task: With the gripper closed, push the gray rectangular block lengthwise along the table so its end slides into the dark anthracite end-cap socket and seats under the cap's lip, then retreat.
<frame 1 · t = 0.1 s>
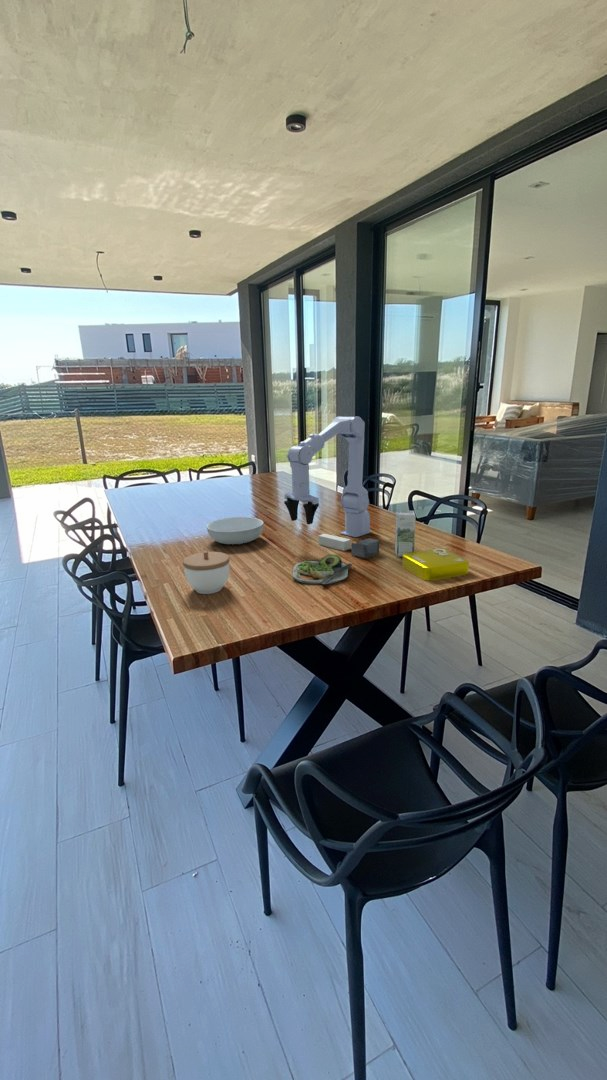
hand: (301, 522, 168), 10 cm above the table, fingers open, 7 cm apart
lidded sugar bowl: (209, 589, 138), on the table
end cap: (365, 554, 164), on the table
syrup box: (404, 555, 162), on the table
element tile: (434, 571, 148), on the table
serving bowl: (236, 541, 183), on the table
salad plate: (321, 575, 147), on the table
gray rectangular block: (334, 547, 174), on the table
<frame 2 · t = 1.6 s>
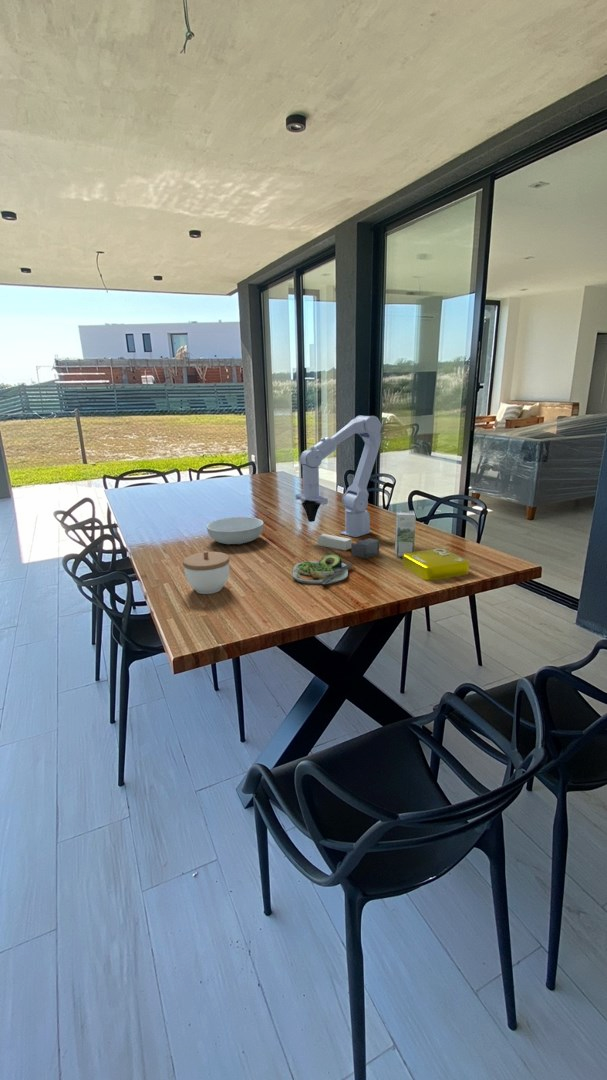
hand: (311, 521, 179), 7 cm above the table, fingers closed
nothing on the table moved.
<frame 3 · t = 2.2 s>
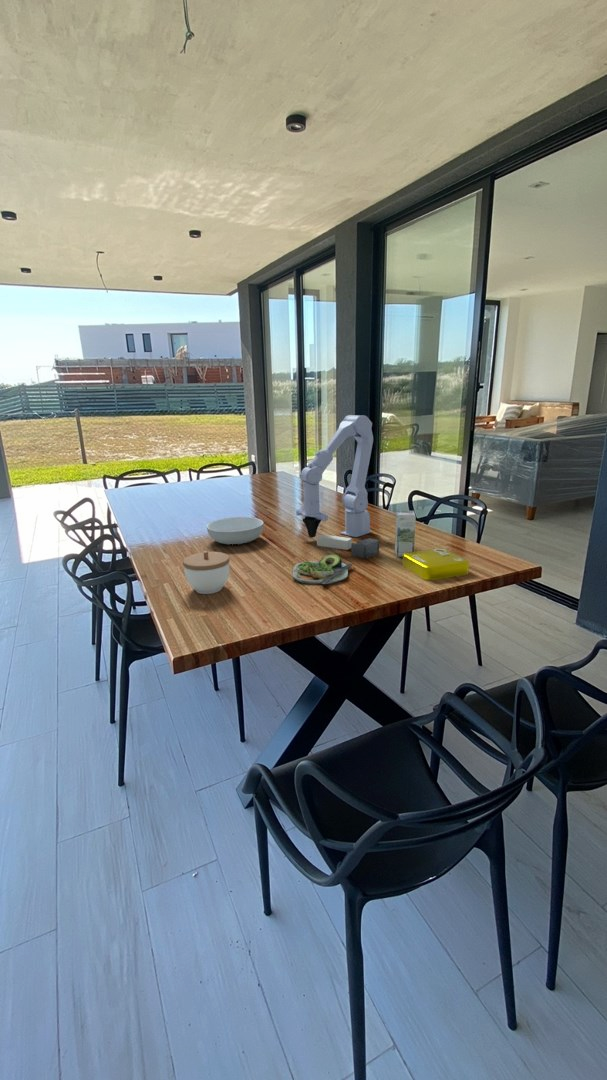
hand: (312, 536, 181), 1 cm above the table, fingers closed
nothing on the table moved.
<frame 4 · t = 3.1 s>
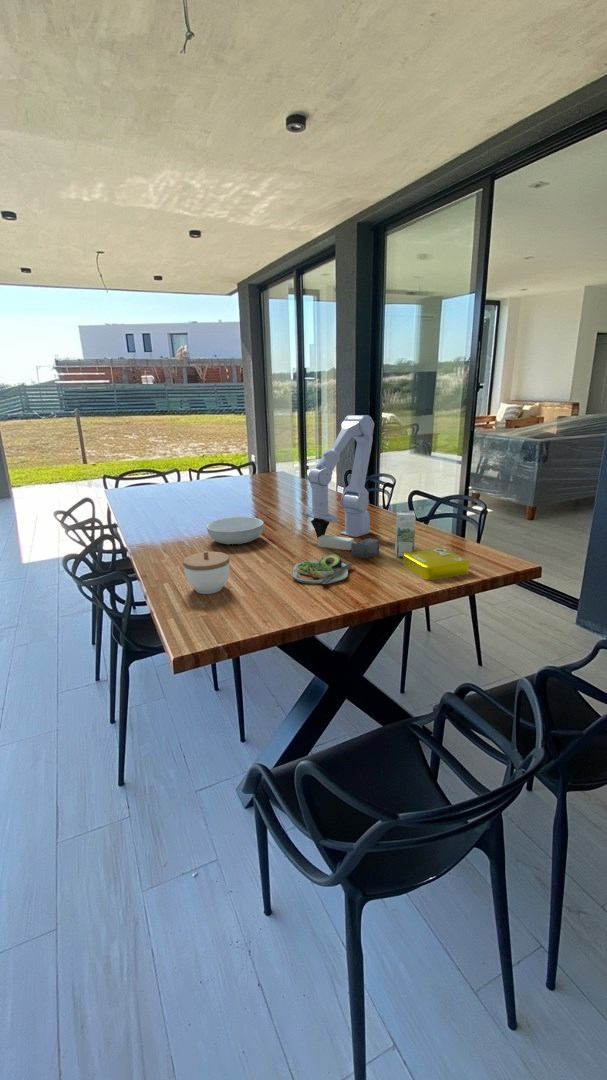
hand: (320, 539, 178), 1 cm above the table, fingers closed
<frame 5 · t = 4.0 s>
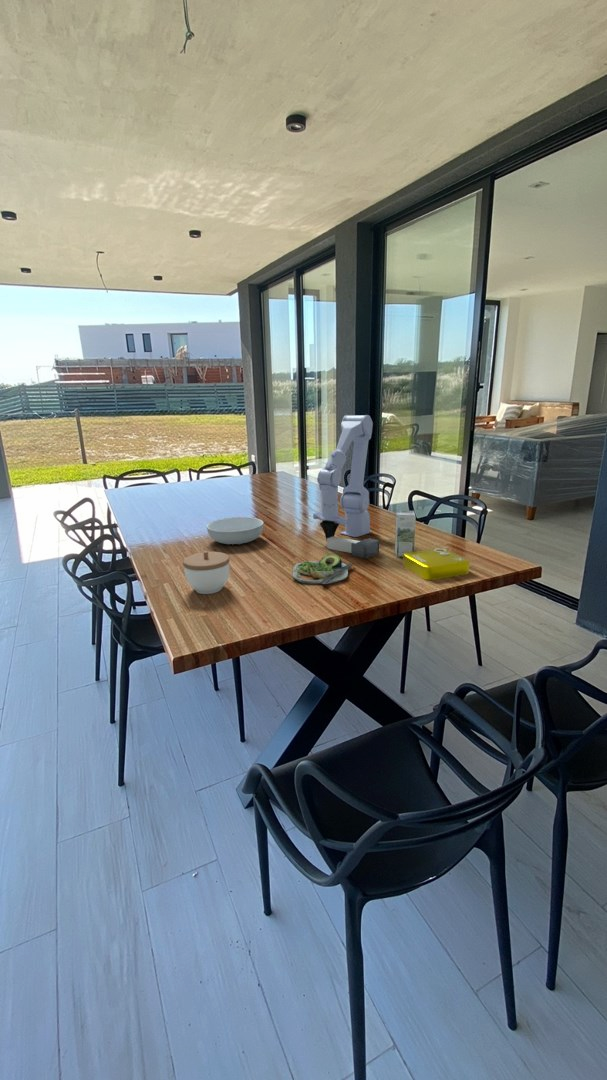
hand: (330, 541, 175), 1 cm above the table, fingers closed
gray rectangular block: (344, 549, 169), on the table, touching gripper
everything else where it was.
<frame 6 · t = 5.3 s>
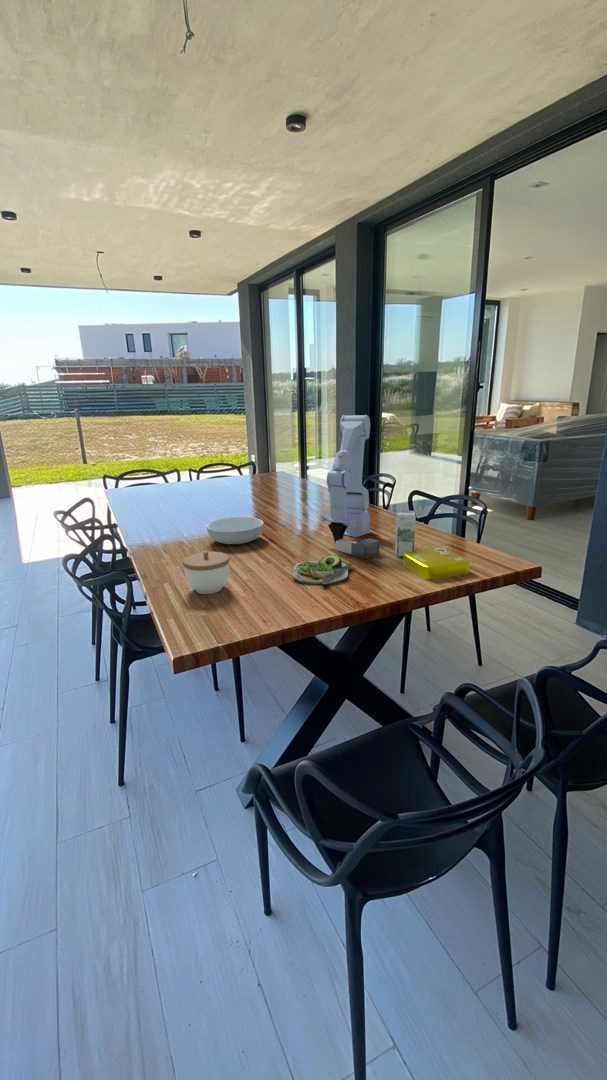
hand: (338, 543, 172), 1 cm above the table, fingers closed
gray rectangular block: (352, 552, 167), on the table
everything else where it was.
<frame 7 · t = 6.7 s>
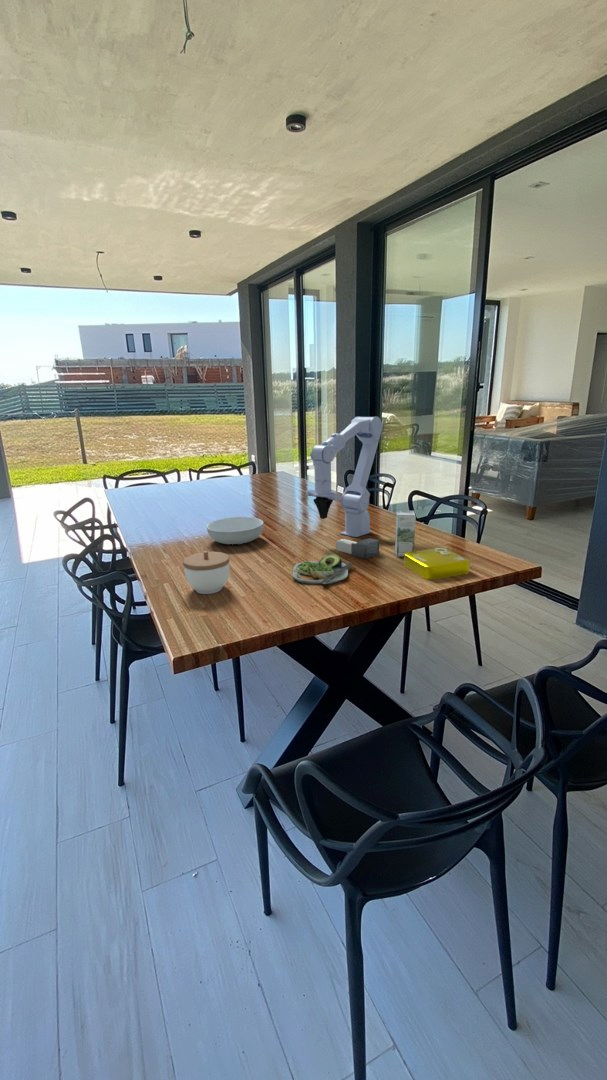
hand: (323, 518, 174), 9 cm above the table, fingers closed
nothing on the table moved.
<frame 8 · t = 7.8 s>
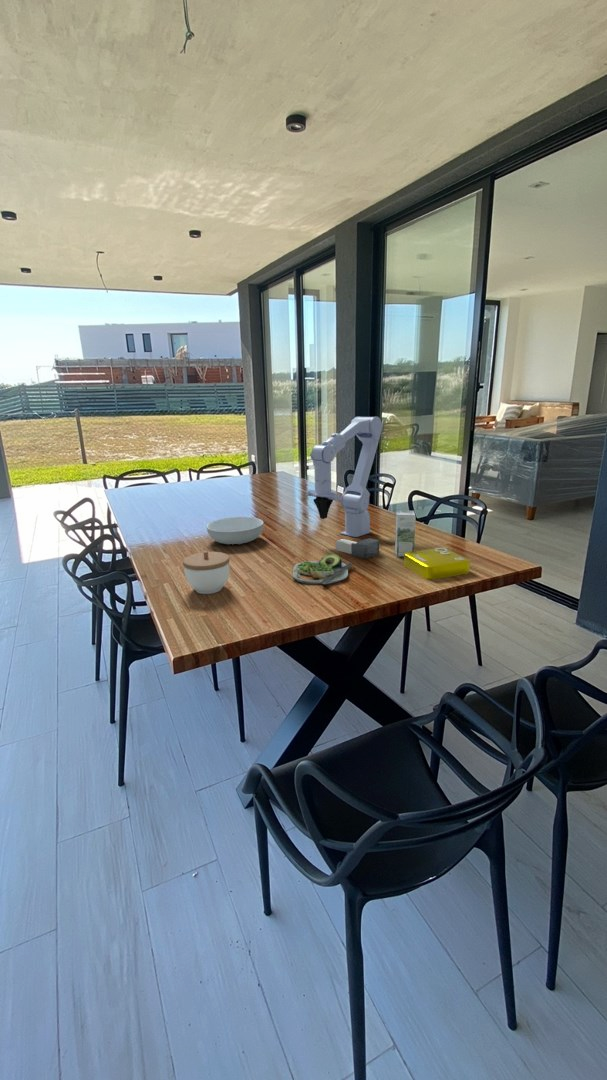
hand: (323, 518, 174), 9 cm above the table, fingers closed
at the end: gray rectangular block 0.9 cm from the target spot, on the table; gray rectangular block tilted 0°; the gripper is holding nothing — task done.
